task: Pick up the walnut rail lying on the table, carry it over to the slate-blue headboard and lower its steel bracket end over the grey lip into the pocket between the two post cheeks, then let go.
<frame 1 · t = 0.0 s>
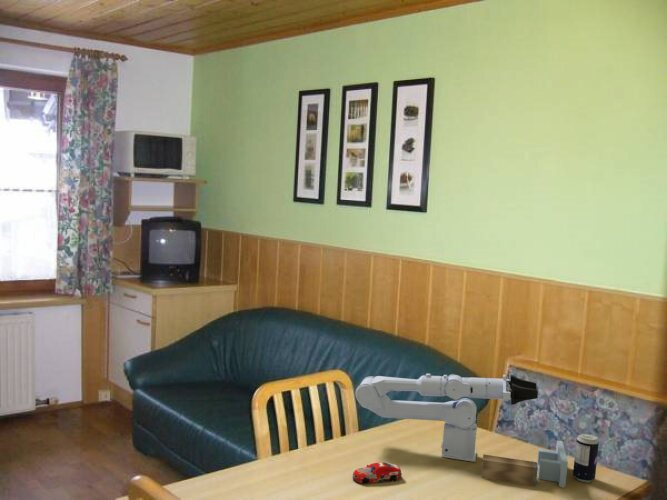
hand: (537, 390, 195), 22 cm above the table, tool horizontal, fingers open, 7 cm apart
headboard: (556, 475, 192), on the table
beverage can: (583, 479, 190), on the table
race car: (376, 480, 181), on the table
rail: (508, 479, 187), on the table
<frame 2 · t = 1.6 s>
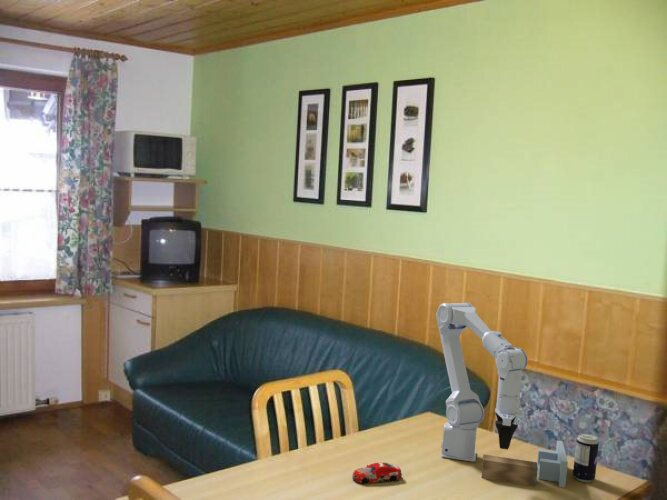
hand: (503, 443, 186), 9 cm above the table, tool pointing down, fingers open, 7 cm apart
nothing on the table moved.
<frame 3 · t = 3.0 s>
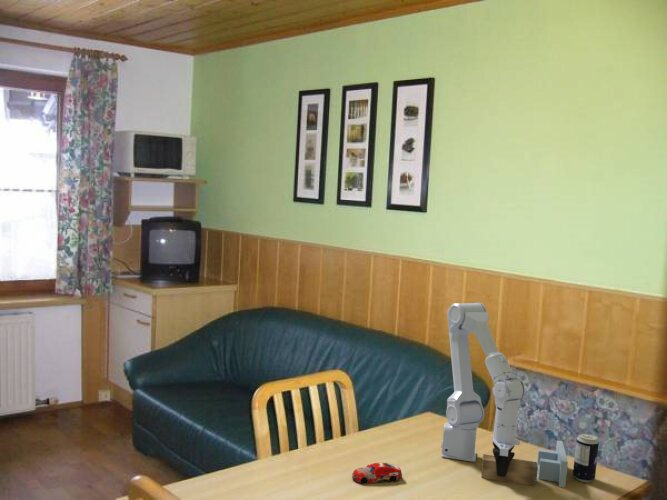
hand: (501, 472, 187), 1 cm above the table, tool pointing down, fingers closed on rail, 4 cm apart
rail: (508, 478, 187), on the table, touching gripper
everything else where it was.
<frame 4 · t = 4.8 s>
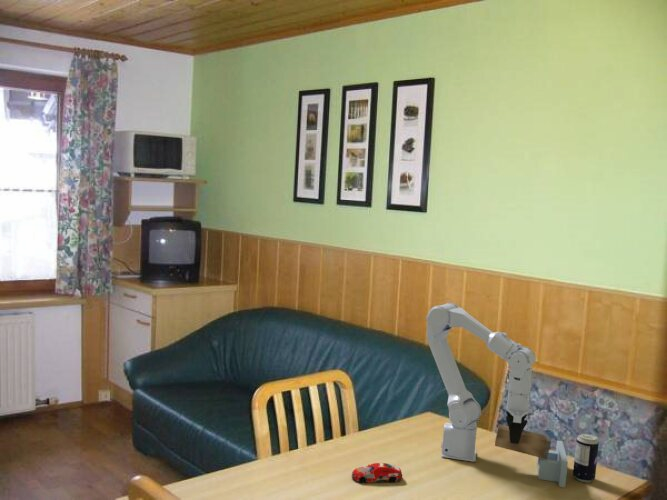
hand: (514, 440, 193), 8 cm above the table, tool pointing down, fingers closed on rail, 4 cm apart
rail: (520, 449, 192), point 6 cm above the table, tilted 6°, touching gripper
everything else where it was.
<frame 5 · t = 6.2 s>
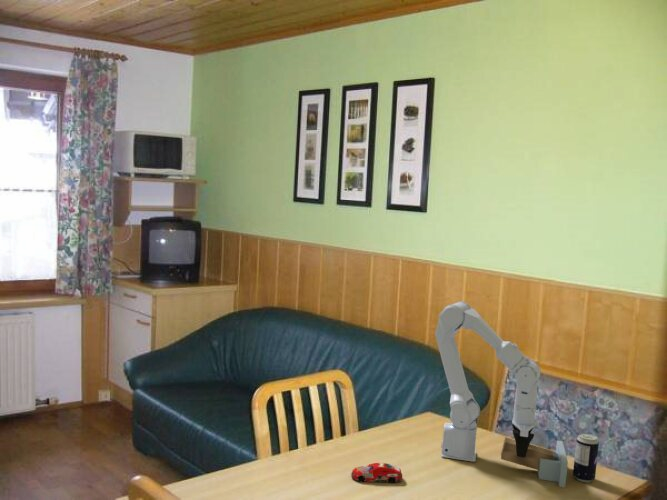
hand: (520, 453, 194), 5 cm above the table, tool pointing down, fingers closed on rail, 4 cm apart
rail: (526, 463, 193), point 2 cm above the table, tilted 9°, touching gripper, headboard
when the fingers open (3 cm above the table, at t = 7.0 s): rail stays where it is, resting on headboard.
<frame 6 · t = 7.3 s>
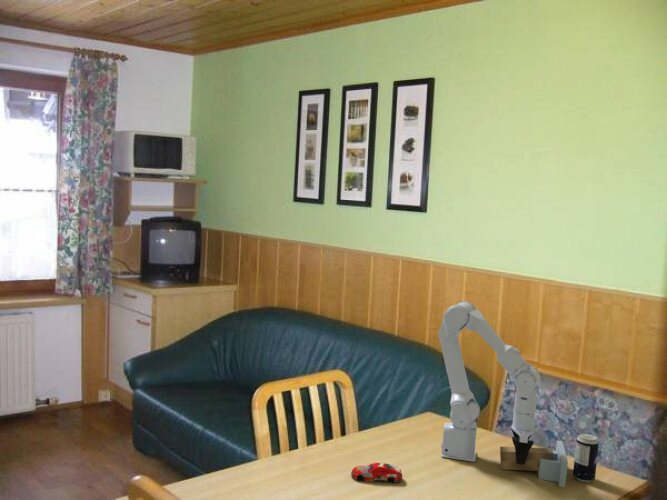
hand: (520, 459, 194), 3 cm above the table, tool pointing down, fingers open, 6 cm apart
rail: (526, 467, 193), point 1 cm above the table, tilted 7°, touching headboard
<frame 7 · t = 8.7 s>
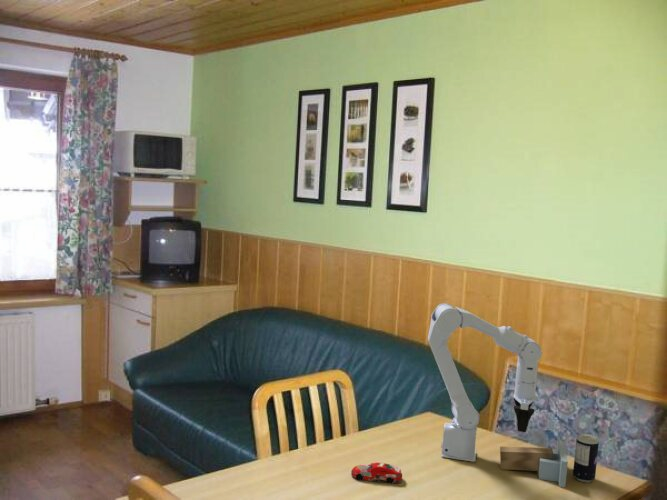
hand: (521, 427, 201), 9 cm above the table, tool pointing down, fingers open, 7 cm apart
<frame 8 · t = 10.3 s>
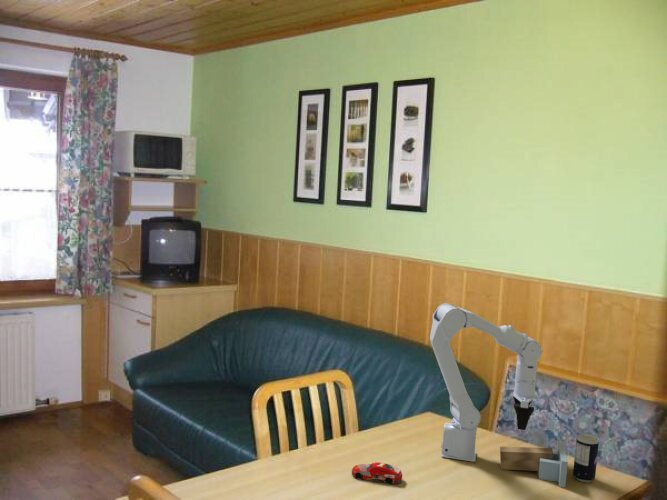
hand: (521, 425, 203), 9 cm above the table, tool pointing down, fingers open, 7 cm apart
at the end: rail 0.0 cm from the target spot, point 0.8 cm above the table; rail tilted 7°; rail touching headboard, table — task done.
